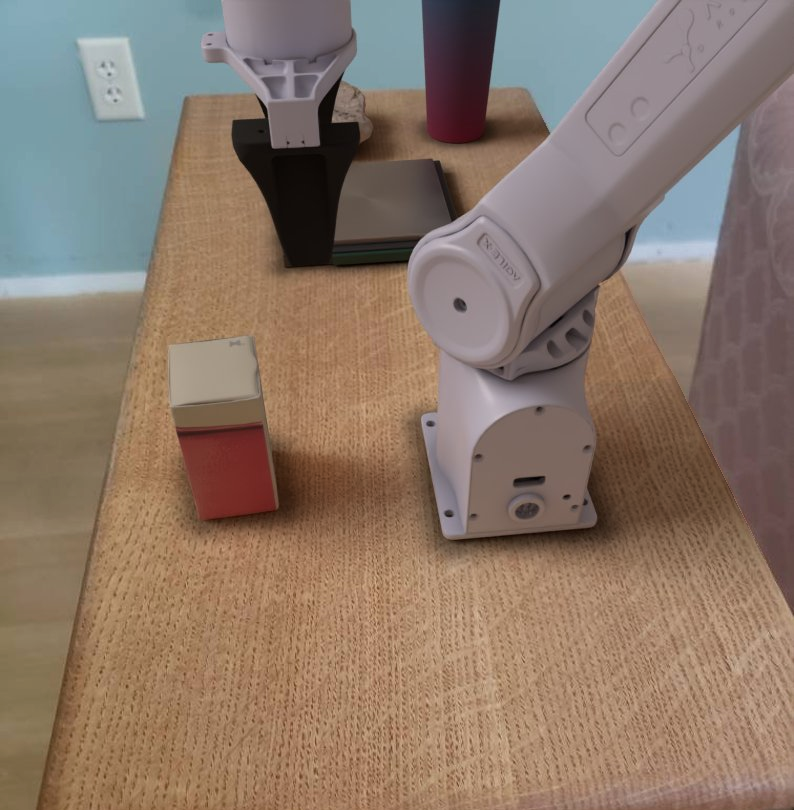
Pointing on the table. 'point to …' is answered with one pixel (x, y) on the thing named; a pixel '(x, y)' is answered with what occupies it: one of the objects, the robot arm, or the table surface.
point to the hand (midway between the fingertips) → (307, 223)
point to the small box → (222, 426)
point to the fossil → (352, 109)
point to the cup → (458, 66)
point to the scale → (389, 210)
